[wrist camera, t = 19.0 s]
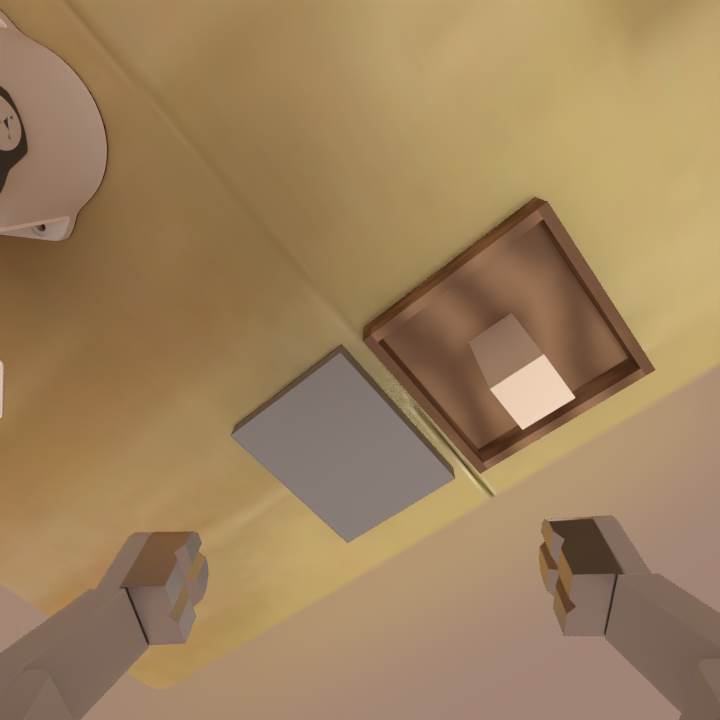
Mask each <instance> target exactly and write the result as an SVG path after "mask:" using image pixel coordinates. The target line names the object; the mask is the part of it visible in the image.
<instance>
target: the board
mask: <svg viewBox="0 0 720 720" xmlns="http://www.w3.org/2000/svg"><path fill="white" fill-rule="evenodd" d="M231 437H232V438H233V439H235V440H236V441H237V442H238V443H239V444H240V445H241V446H242V447H243V448H244V449H245V450H247V451H248V452H249V453H250V454H251V455H252V456H253V457H254V458H255V459H256V460H257V461H259V462H260V463H261V464H262V465H263V466H264V467H265V468H266V469H267V470H268V471H269V472H271V473H272V474H273V475H274V476H275V477H276V478H277V479H278V480H279V481H280V482H281V483H283V484H284V485H285V486H286V487H287V488H288V489H289V490H290V491H291V492H292V493H293V494H295V495H296V496H297V497H298V498H299V499H300V500H301V501H302V502H303V503H304V504H305V505H307V506H308V507H309V508H310V509H311V510H312V511H313V512H314V513H315V514H316V515H317V516H319V517H320V518H321V519H322V520H323V521H324V522H325V523H326V524H327V525H328V526H329V527H331V528H332V529H333V530H334V531H335V532H336V533H337V534H338V535H339V536H340V537H341V538H343V539H344V540H345V541H346V542H347V543H349V542H350V541H352V540H354V539H355V538H357V537H359V536H360V535H362V534H364V533H365V532H367V531H369V530H370V529H372V528H374V527H375V526H377V525H379V524H380V523H382V522H384V521H385V520H387V519H389V518H390V517H392V516H394V515H395V514H397V513H399V512H400V511H402V510H404V509H405V508H407V507H409V506H410V505H412V504H414V503H415V502H417V501H419V500H420V499H422V498H424V497H425V496H427V495H429V494H430V493H432V492H434V491H435V490H437V489H439V488H440V487H442V486H444V485H445V484H447V483H449V482H450V481H452V480H454V479H455V475H454V471H453V467H452V466H451V465H450V464H449V463H448V462H447V461H446V460H445V458H444V457H443V456H442V455H441V454H440V453H439V452H438V451H437V450H436V448H435V447H434V446H433V445H432V444H431V443H430V442H429V441H428V440H427V439H426V437H425V436H424V435H423V434H422V433H421V432H420V431H419V430H418V429H417V427H416V426H415V425H414V424H413V423H412V422H411V421H410V420H409V419H408V417H407V416H406V415H405V414H404V413H403V412H402V411H401V410H400V409H399V408H398V406H397V405H396V404H395V403H394V402H393V401H392V400H391V399H390V398H389V396H388V395H387V394H386V393H385V392H384V391H383V390H382V389H381V388H380V387H379V385H378V384H377V383H376V382H375V381H374V380H373V379H372V378H371V377H370V375H369V374H368V373H367V372H366V371H365V370H364V369H363V368H362V367H361V366H360V364H359V363H358V362H357V361H356V360H355V359H354V358H353V357H352V356H351V354H350V353H349V352H348V351H347V350H346V349H345V348H344V347H343V346H342V345H341V346H340V347H338V348H337V349H336V350H334V351H333V352H332V353H330V354H329V355H328V356H326V357H325V358H324V359H322V360H321V361H320V362H319V363H317V364H316V365H315V366H313V367H312V368H311V369H309V370H308V371H307V372H305V373H304V374H303V375H301V376H300V377H299V378H298V379H296V380H295V381H294V382H292V383H291V384H290V385H288V386H287V387H286V388H284V389H283V390H282V391H280V392H279V393H278V394H277V395H275V396H274V397H273V398H271V399H270V400H269V401H267V402H266V403H265V404H263V405H262V406H261V407H260V408H258V409H257V410H256V411H254V412H253V413H252V414H250V415H249V416H248V417H246V418H245V419H244V420H242V421H241V422H240V423H239V424H237V425H236V426H235V428H234V430H233V432H232V434H231Z"/></svg>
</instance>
